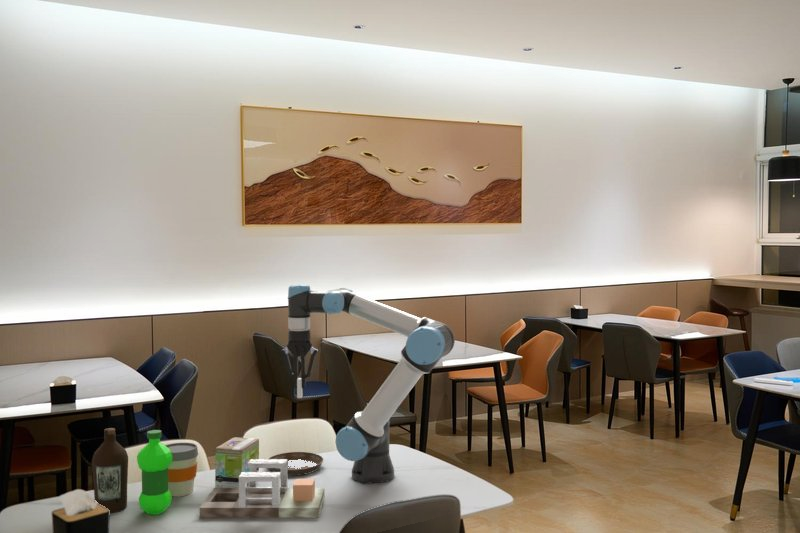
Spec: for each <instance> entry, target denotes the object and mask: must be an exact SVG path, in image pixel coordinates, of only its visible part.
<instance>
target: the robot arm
mask: <svg viewBox="0 0 800 533" xmlns="http://www.w3.org/2000/svg"><path fill="white" fill-rule="evenodd" d="M287 295H288V296H287V301H288V302H287V303H288V306H287V307H288V308H287V309H288V315H287V316H288V317H287V319H288V320H287V321H288V322H287V323H288V324H287V325H288V327H287V328H288V329H289V330H288V332H287V333H288V335H287V336H288V337H287V338H288V341H287V342H288V343H287V345H286V346H285V348H283V349H281V350H280V353H281V355H282V357H283V358H284V359H283V360H284V363H285V367H286V371H287V374H288V377H289V378H292V379H293V387H294V389H296V396H297V397H296V398H297V399H302V398H303V395H304V394H303V389H305V388H306V386H307V385H306V380H307V378H310V377H311V376H312V372H313V367H314V363H315V358H316V355H317V354H318V352H319V349H318V348H315V347H314V346H313V345H312V343H311V330H310V328H311V313H315V314H316V313H318V314H329V315H332V314H340V313H341V312H342V313H346V314H349V315H351V316H354V317H357V318H359V319H362V320H364V321H366V322H369V323H372V324H374V325H375V326H376V325H377V326H380V327H381V328H385V329H387V330H389V331H392V332H395V333H397V334H400V335H401V336H404V337H407V339H406V340H405V341H406V342H405V346H403V348H402V349H401V351H400V354H401V355H400V356H401V359H400V360H399V361H398V362H397V364H396V365H395V367H394V368H393V369H392V371H391V373H390V374H389V375H388V376H387V378H386V379H385V380H384V382H383V383H382V384H381V386H380V387H379V389H378V390H377V391H376V393H375V394H374V395H373V396H372V398H371V399H370V401H369V402H368V403H367V405H366V406H365V408H364V409H363V410H361V411H356V412H355V414H354V415H353V416H352V418H351V419H350V420H349V422H347V424H346V425H345V426H343V427H342V428H341V429H339V431H338V432H337V434H336V435H335V446H336V450H337V452H338V453H339V454H340V456H341V457H342V458H344V459H345V460H347V461H350V462H353V464H352V468H351V478H352V479H353V480H355V481H356V482H360V483H365V484H377V483H384V482H389V481H391V480H393V479H394V478H395V468H394V464H393V463H392V462H393V461H392V459H391V456H390V424H391V422H390V419H391V417H392V416H393V415H394V414H395V412H396V411H397V409H398V408H399V407H400V405H401V404H402V403H403V401H404V400H405V399H406V398H407V396H408V395H409V393H410V392H411V390H412V389H413V388H414V387H415V385H416V384H417V382H418V381H419V379H420V378H421V377H422V376H423V375H424V374H430V373H431V372H432V370H434V367H435V366H436V365H437V364H438V362H440V360H441V358H444V357H445V356H447V355H448V354H450V353H451V351H452V350H453V349H454V346H455V340H456V339H455V334H454V332H453V330H452V329H451V327H450V326H449V325H447V324H445V323H444V322H442V321H438V320H435V319H432V318H429V317H426V316H424V317H422V318H421V317H417V316H416V315H413V314H411V313H408V312H405V311H402V310H399V309H397V308H395V307H392V306H389V305H386V304H383V302H382V303H381V302H378V301H376V300H373V299H370V298H368V297H366V296H363V295H360V294H357V293H355V292H354V291H353V290H352V289H350V288H347V287H341V288H336V289H330V290H311V286H310V285H308V284H291V285H290V286H289V287H288V293H287ZM309 351H310V354H311V356H310V359H309V363H308V367H307V370H306V365H307V364H306V363H307V362H306V357H307V355H308V354H309ZM289 352H290V354H291V355H292V356H293V367H292V365H291V360H290V356H289ZM299 357H300V365H301V366H300V373H301V375H300V376H301V377H299ZM292 368H293V369H292Z"/></svg>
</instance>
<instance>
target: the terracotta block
mask: <svg viewBox="0 0 800 533" xmlns="http://www.w3.org/2000/svg"><path fill="white" fill-rule="evenodd" d="M315 483H316V479H315V478H296V479H295V480H294V482H293V484H292V488H293V501H313V498H314V495H315V488H316V484H315Z"/></svg>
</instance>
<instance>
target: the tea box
mask: <svg viewBox="0 0 800 533" xmlns="http://www.w3.org/2000/svg"><path fill="white" fill-rule="evenodd" d="M214 458H215V464H214V465H215V467H214V469H215V470H214V473H215V474H214V475H215V476H214V477H215V479H214V488H239V476H240V474H241V473H242V472H250V468H248V462H249V461H250V459H260V439H259V438H253V437H252V438H251V437H250V438H249V437H237V436H235V437H232V438H230V439H229V440H227V441H225V442H223V443H222V444H220V445H218V446H216V448H215V457H214ZM259 469H260V468H257V472H260V470H259ZM248 487H250V482H247V488H248Z"/></svg>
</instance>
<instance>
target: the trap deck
mask: <svg viewBox="0 0 800 533" xmlns="http://www.w3.org/2000/svg"><path fill="white" fill-rule="evenodd" d="M247 498H272V493H248V487H247ZM280 498H281V504H280V506H279V508H272V504H247V506H246V508H239V488H215V487H214V488H213V489H212V490H211V492H209V494H208V496H207V497H206V498H205V500H204V501H203V502H202V503H201V505H200V506H199V518H202V519H203V518H210V519H211V518H213V519H216V518H222V519H223V518H225V519H226V518H229V519H230V518H237V519H238V518H250V519H251V518H256V519H257V518H259V519H260V518H319V517H320V513H321V510H322V508H323V507H322V506H323V503H324V500H325V487H315V495H314V498H313V501H293V487H288V488H287V490H286V493H280Z"/></svg>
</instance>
